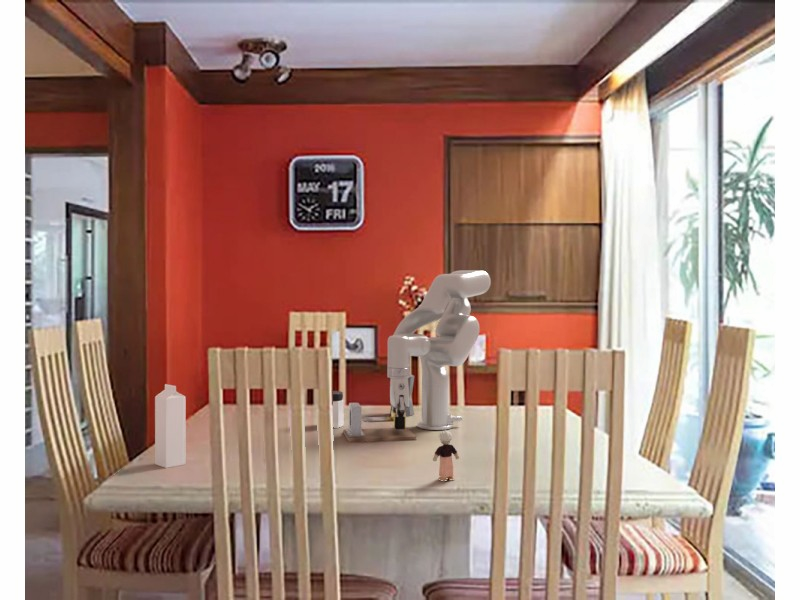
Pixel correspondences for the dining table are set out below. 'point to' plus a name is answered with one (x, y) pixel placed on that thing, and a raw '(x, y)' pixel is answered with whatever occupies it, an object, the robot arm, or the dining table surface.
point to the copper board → (382, 435)
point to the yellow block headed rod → (384, 419)
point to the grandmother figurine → (445, 456)
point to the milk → (170, 428)
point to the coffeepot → (409, 410)
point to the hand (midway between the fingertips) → (398, 426)
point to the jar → (338, 409)
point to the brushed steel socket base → (354, 421)
